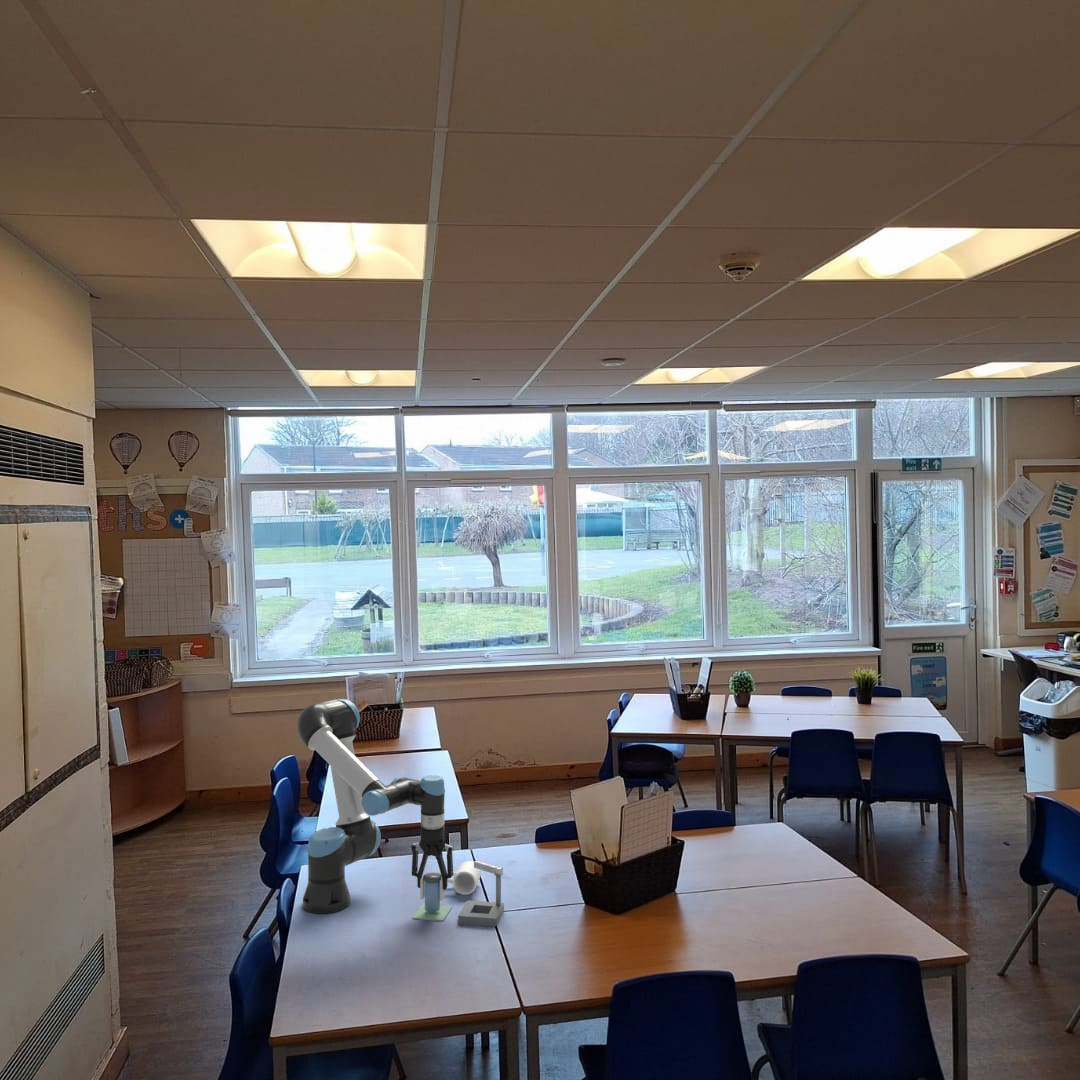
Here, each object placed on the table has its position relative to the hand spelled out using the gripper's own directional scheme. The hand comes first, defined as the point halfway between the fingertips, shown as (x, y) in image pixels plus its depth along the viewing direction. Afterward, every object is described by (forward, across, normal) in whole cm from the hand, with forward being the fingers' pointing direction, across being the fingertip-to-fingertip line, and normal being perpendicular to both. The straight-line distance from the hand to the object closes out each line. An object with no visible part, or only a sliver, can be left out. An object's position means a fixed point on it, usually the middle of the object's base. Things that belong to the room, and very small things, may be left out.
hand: (432, 898), depth 290 cm
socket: (+5, +16, 0) cm, 17 cm away
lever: (-7, +17, +7) cm, 19 cm away
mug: (+5, +4, +21) cm, 22 cm away
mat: (+5, 0, 0) cm, 5 cm away
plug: (+3, 0, 0) cm, 3 cm away
